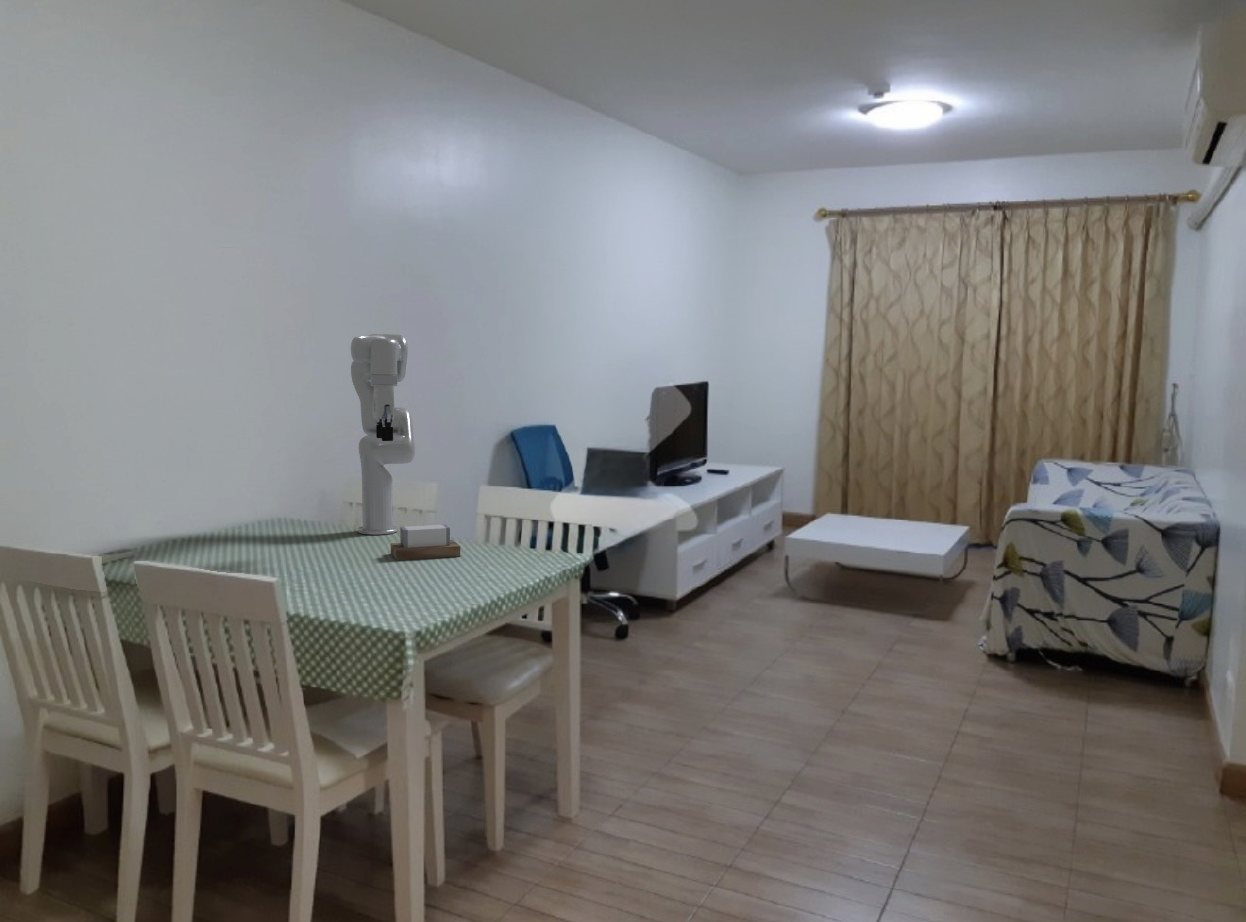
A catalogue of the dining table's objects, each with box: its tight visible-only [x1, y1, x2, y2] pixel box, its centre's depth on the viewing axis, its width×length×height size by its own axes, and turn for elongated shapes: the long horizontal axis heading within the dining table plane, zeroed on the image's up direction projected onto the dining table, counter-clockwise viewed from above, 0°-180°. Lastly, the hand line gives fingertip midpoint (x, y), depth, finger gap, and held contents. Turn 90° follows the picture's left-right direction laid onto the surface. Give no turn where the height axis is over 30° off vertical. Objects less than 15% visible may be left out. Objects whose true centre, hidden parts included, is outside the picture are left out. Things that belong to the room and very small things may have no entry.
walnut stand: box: [390, 539, 461, 561], centre depth 276 cm, size 10×18×3 cm, turn 113°
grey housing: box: [399, 524, 451, 548], centre depth 276 cm, size 6×13×5 cm, turn 113°
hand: (384, 439), depth 282 cm, fingers open, 9 cm apart
